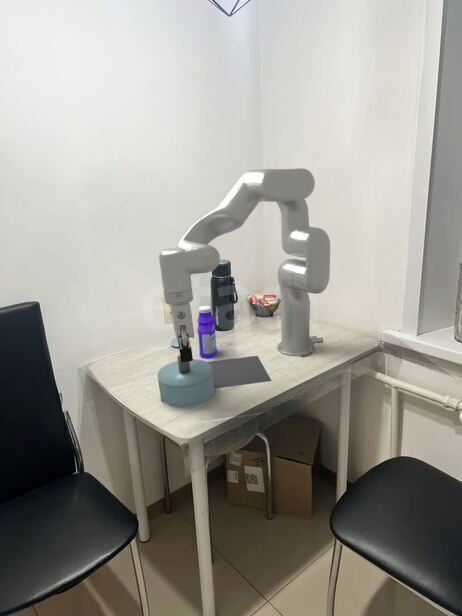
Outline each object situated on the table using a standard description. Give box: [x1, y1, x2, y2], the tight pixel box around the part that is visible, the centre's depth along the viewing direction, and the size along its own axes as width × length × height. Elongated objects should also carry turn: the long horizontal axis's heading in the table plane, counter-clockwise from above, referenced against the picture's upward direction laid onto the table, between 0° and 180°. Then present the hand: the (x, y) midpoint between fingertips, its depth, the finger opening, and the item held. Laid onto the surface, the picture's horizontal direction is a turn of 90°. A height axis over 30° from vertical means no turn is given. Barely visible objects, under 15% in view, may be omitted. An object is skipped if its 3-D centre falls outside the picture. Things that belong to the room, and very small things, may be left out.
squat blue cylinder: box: [157, 354, 216, 408], centre depth 116 cm, size 15×15×11 cm
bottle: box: [196, 305, 218, 359], centre depth 139 cm, size 7×6×17 cm
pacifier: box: [168, 337, 180, 351], centre depth 149 cm, size 7×6×6 cm
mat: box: [207, 355, 273, 389], centre depth 129 cm, size 18×18×1 cm
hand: (185, 353), depth 115 cm, fingers open, 9 cm apart
